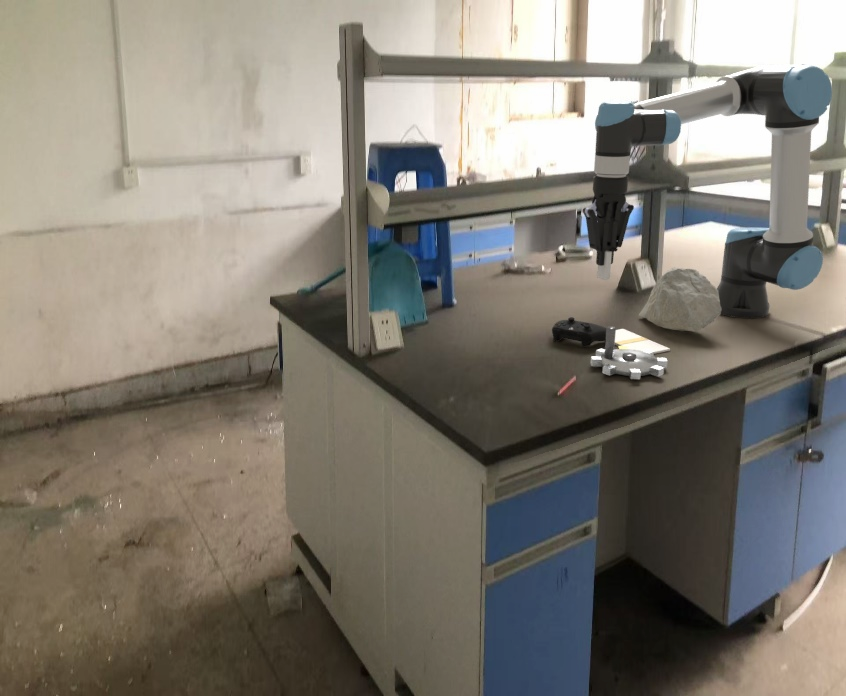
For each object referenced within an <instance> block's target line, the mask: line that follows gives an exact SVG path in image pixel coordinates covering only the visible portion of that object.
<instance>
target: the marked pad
mask: <svg viewBox="0 0 846 696" xmlns="http://www.w3.org/2000/svg"><path fill="white" fill-rule="evenodd" d="M614 346H617V347H618V346H627V347H628V349H632V350H639V351H643V350H646V349H647V350H650V351H654V355H655V354H660V353H665V352H671V348H670V347H667V346H666V345H665V346H664V345H662V344H660V343H657V342H656V341H654V340H653V341H652V340H650V339H648V338H647V337H643V336H641V335H639V334H637V333H634V332H633V331H629V330H628V329H625V328H620V329H616V333H615V344H614Z"/></svg>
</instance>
